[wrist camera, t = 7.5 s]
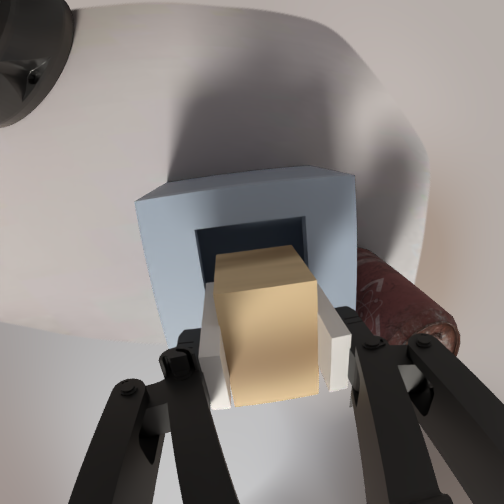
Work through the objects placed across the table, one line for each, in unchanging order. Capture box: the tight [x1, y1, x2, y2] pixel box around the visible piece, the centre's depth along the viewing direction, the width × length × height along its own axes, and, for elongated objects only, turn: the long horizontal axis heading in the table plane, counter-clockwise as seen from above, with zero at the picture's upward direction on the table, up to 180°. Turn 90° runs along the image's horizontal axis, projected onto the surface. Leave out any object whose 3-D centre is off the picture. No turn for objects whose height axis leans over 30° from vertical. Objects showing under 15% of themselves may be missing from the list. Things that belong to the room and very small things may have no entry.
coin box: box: [135, 165, 357, 349], centre depth 23 cm, size 12×12×10 cm
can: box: [356, 248, 460, 356], centre depth 23 cm, size 6×6×14 cm
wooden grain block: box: [213, 245, 319, 407], centre depth 15 cm, size 6×4×5 cm, turn 6°
